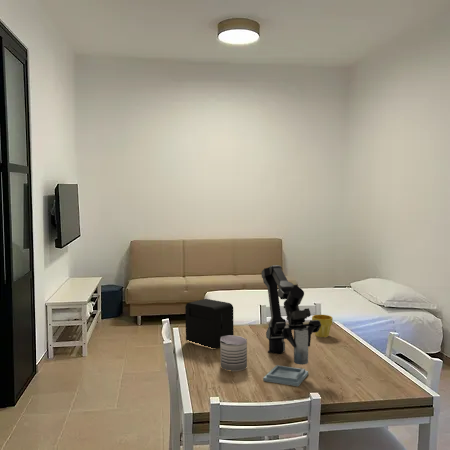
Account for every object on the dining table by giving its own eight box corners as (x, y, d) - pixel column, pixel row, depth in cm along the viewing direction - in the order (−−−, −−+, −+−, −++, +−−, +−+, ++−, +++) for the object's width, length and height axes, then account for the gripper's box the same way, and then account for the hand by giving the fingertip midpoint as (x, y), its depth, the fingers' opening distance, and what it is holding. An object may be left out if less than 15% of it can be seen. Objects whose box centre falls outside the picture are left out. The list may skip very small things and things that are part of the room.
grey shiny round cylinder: (290, 362, 191) (291, 329, 190) (299, 358, 195) (299, 326, 194) (302, 365, 187) (302, 332, 186) (311, 361, 191) (311, 329, 190)
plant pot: (334, 338, 243) (334, 319, 243) (313, 338, 243) (313, 319, 243) (330, 332, 254) (330, 314, 253) (310, 332, 254) (310, 314, 253)
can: (233, 360, 212) (233, 333, 211) (252, 366, 204) (252, 338, 203) (214, 366, 204) (214, 338, 203) (233, 373, 196) (233, 344, 195)
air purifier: (235, 343, 236) (235, 302, 235) (215, 350, 226) (215, 308, 224) (206, 336, 250) (205, 297, 249) (185, 342, 239) (185, 302, 238)
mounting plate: (263, 380, 188) (263, 375, 188) (275, 369, 200) (275, 363, 200) (298, 386, 182) (298, 380, 182) (308, 374, 194) (308, 368, 194)
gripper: (275, 302, 192) (283, 338, 182) (319, 300, 195) (330, 335, 185) (269, 317, 200) (277, 352, 190) (312, 314, 204) (322, 348, 194)
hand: (302, 346), depth 190 cm, fingers closed on grey shiny round cylinder, 6 cm apart
